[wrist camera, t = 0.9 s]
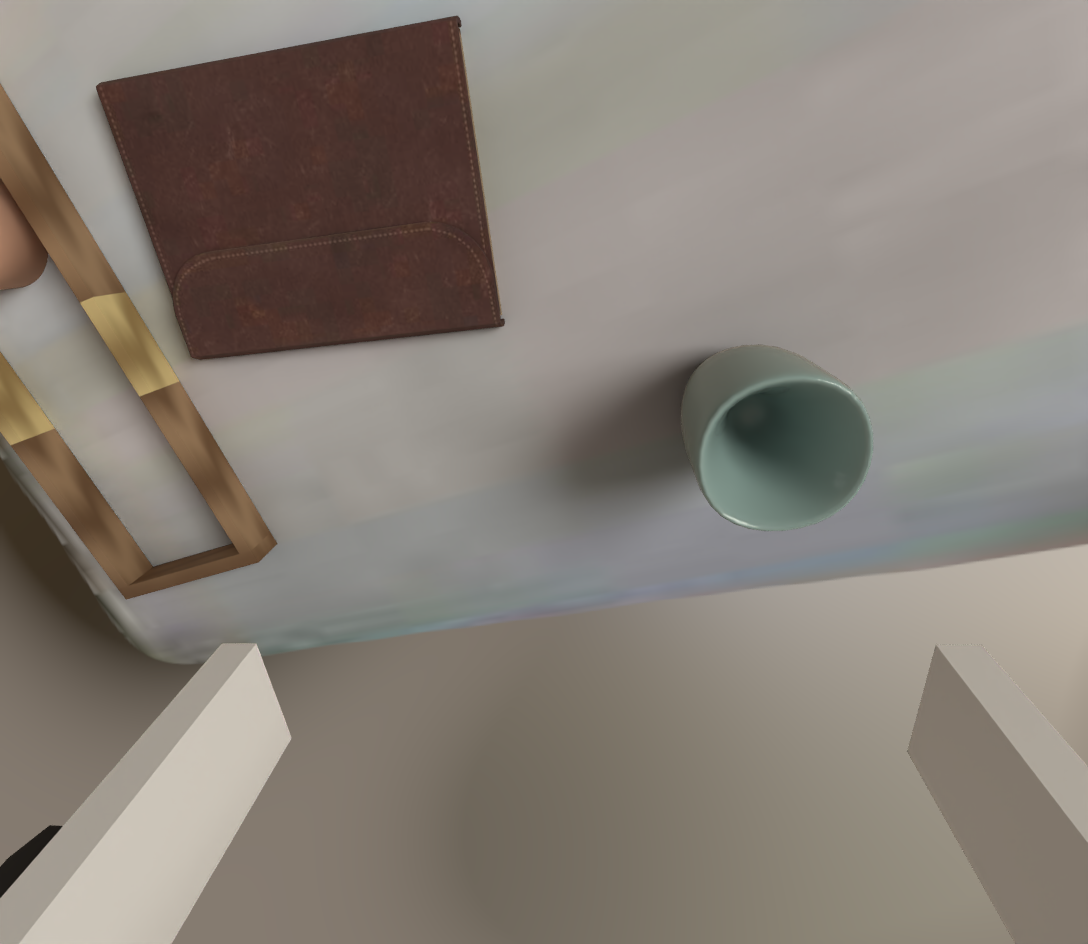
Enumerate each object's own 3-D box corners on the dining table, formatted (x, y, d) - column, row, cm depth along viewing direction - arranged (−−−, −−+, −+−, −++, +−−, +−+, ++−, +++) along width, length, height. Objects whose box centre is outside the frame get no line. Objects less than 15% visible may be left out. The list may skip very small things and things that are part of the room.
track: (-179, 177, 34) (-235, 173, 32) (-4, 76, 31) (-52, 65, 29) (125, 587, 45) (100, 606, 43) (277, 543, 42) (258, 562, 40)
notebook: (116, 86, 31) (86, 78, 29) (462, 21, 29) (453, 8, 27) (211, 355, 37) (191, 362, 35) (506, 323, 34) (501, 329, 33)
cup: (674, 460, 37) (698, 540, 27) (667, 340, 34) (691, 385, 24) (801, 448, 35) (869, 527, 26) (805, 322, 32) (884, 362, 23)
